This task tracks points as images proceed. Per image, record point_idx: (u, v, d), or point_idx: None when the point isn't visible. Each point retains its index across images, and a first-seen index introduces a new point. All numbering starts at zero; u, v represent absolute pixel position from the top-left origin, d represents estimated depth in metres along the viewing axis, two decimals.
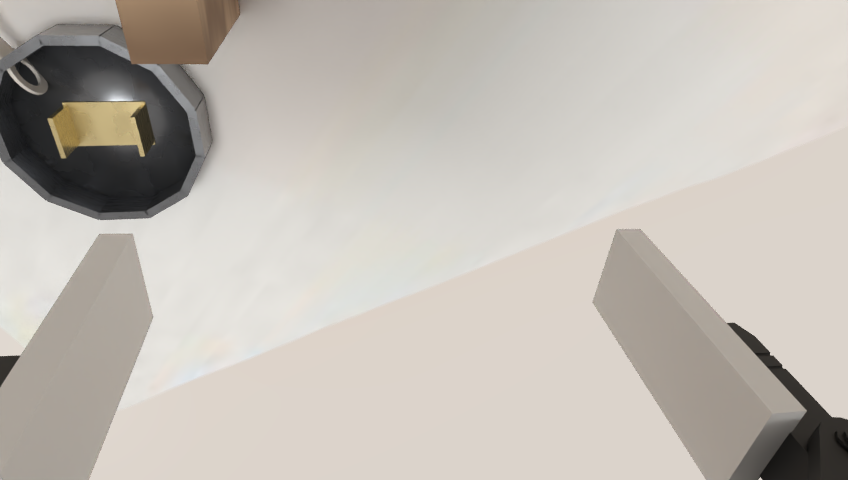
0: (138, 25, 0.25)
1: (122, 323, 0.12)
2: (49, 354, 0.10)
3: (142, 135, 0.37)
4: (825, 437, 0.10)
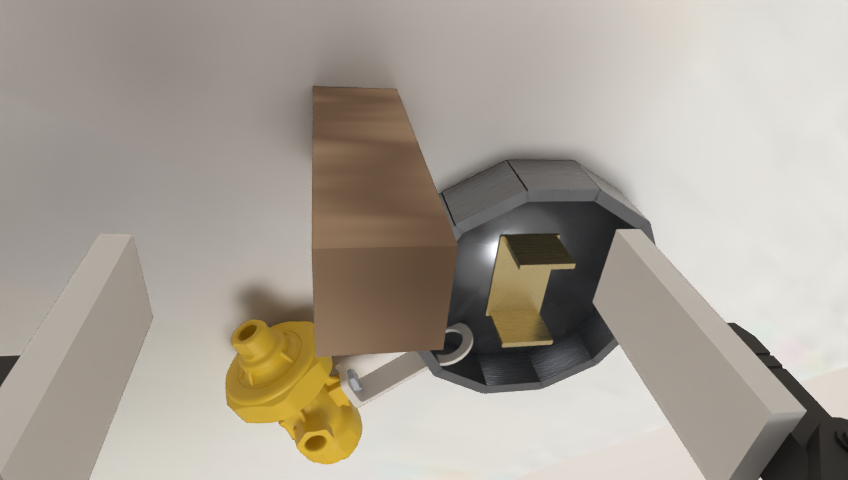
0: (381, 333, 0.14)
1: (122, 323, 0.12)
2: (49, 354, 0.10)
3: (546, 257, 0.26)
4: (825, 437, 0.10)
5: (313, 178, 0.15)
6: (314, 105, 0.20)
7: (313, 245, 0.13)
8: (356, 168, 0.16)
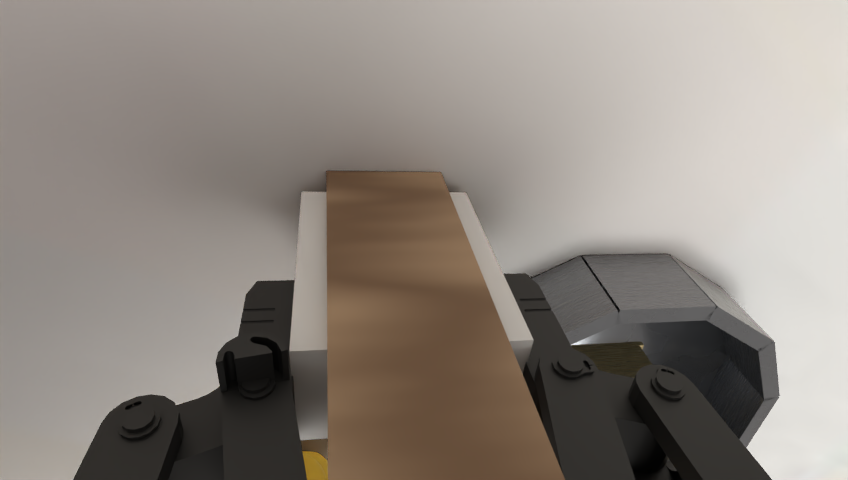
0: None
1: None
2: (315, 275, 0.12)
3: None
4: (545, 372, 0.11)
5: (329, 389, 0.09)
6: (328, 209, 0.14)
7: None
8: (399, 355, 0.10)
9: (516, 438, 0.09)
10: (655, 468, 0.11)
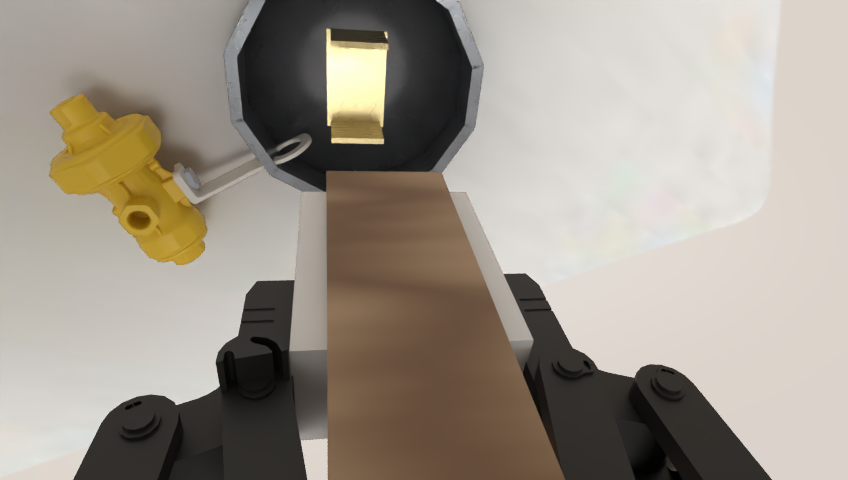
0: None
1: None
2: (315, 275, 0.12)
3: (361, 39, 0.27)
4: (545, 372, 0.11)
5: (329, 389, 0.09)
6: (328, 209, 0.14)
7: None
8: (398, 356, 0.10)
9: (516, 438, 0.09)
10: (655, 468, 0.11)
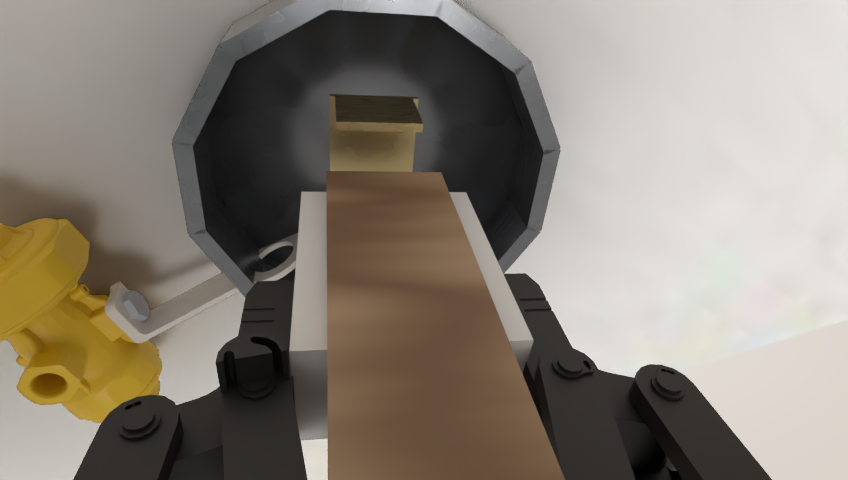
0: None
1: None
2: (315, 275, 0.12)
3: (381, 117, 0.18)
4: (545, 372, 0.11)
5: (329, 389, 0.09)
6: (328, 209, 0.14)
7: None
8: (398, 356, 0.10)
9: (516, 438, 0.09)
10: (655, 468, 0.11)
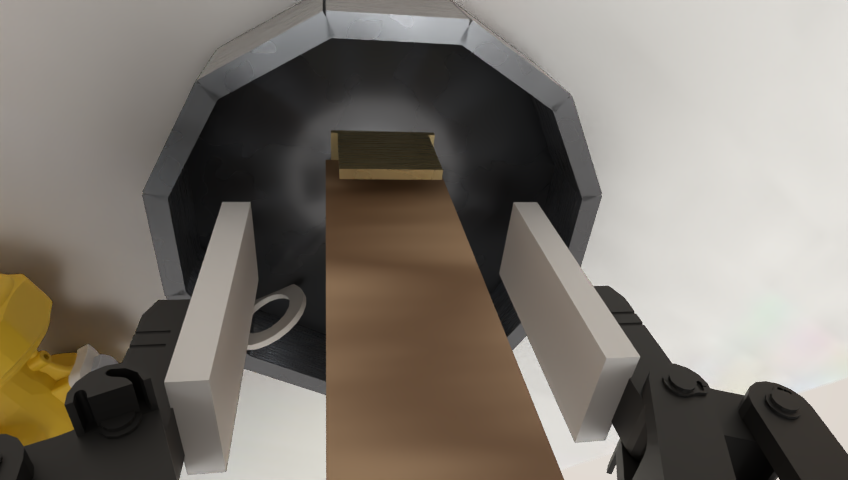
0: None
1: (247, 278, 0.14)
2: (215, 294, 0.11)
3: (393, 161, 0.15)
4: (655, 385, 0.11)
5: (327, 355, 0.10)
6: (327, 195, 0.15)
7: None
8: (392, 327, 0.11)
9: (502, 399, 0.09)
10: None
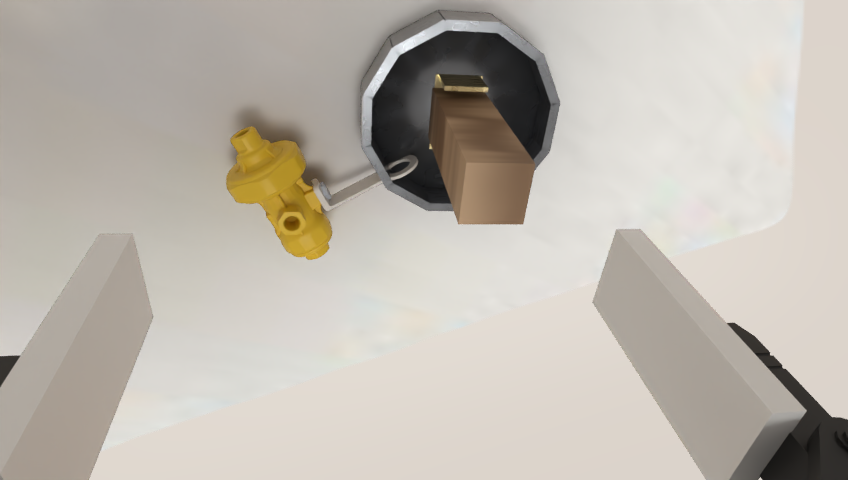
0: (493, 212, 0.28)
1: (122, 323, 0.12)
2: (49, 354, 0.10)
3: (466, 84, 0.34)
4: (825, 437, 0.10)
5: (454, 134, 0.29)
6: (438, 98, 0.34)
7: (466, 161, 0.26)
8: (474, 130, 0.30)
9: (512, 144, 0.28)
10: None
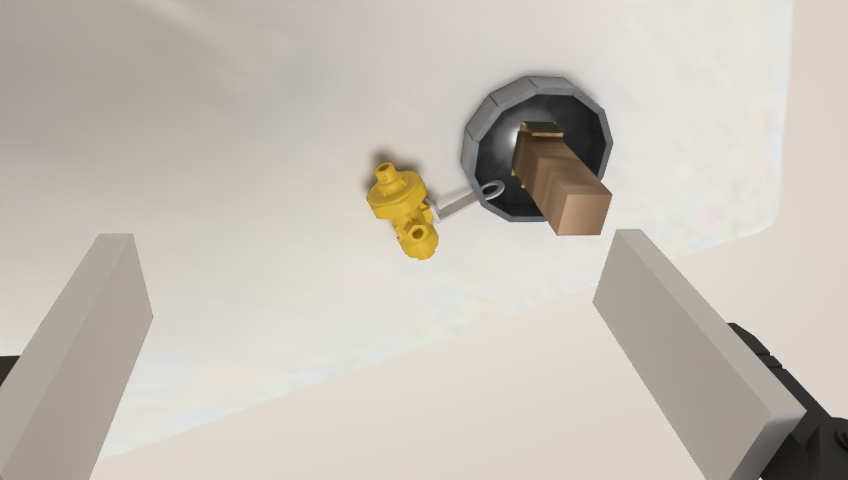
0: (581, 227, 0.40)
1: (122, 323, 0.12)
2: (49, 354, 0.10)
3: (547, 130, 0.47)
4: (825, 437, 0.10)
5: (550, 172, 0.41)
6: (526, 141, 0.47)
7: (567, 193, 0.39)
8: (562, 168, 0.42)
9: (592, 180, 0.41)
10: None
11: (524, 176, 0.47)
